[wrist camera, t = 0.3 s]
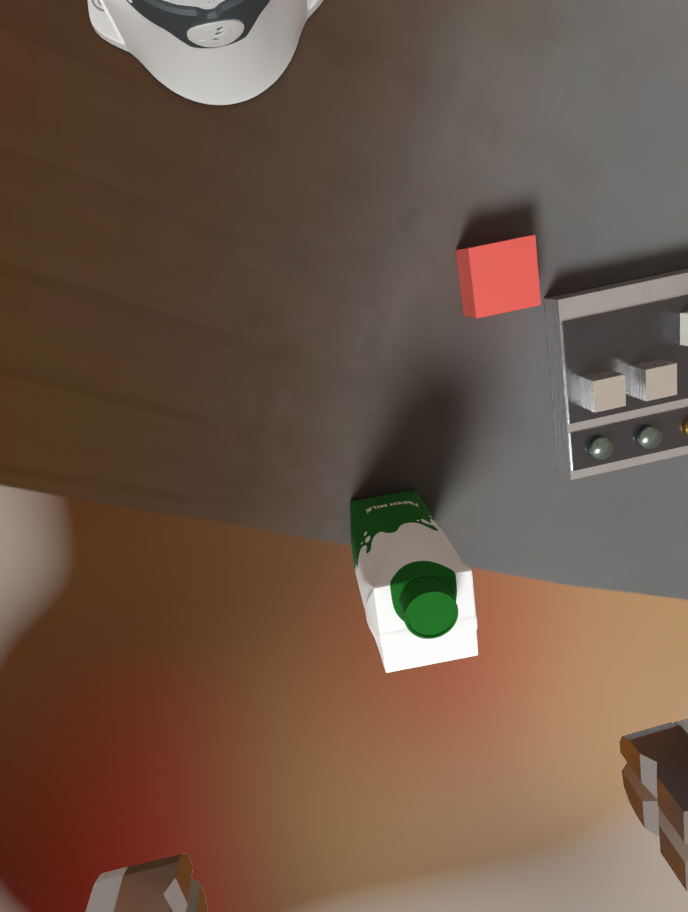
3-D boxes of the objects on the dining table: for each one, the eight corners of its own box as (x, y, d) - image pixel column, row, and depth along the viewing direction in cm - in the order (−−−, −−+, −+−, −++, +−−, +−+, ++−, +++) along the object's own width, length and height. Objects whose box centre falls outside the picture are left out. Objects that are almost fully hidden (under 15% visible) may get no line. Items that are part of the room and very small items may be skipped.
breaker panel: (543, 298, 55) (572, 301, 50) (701, 265, 56) (746, 264, 50) (557, 470, 61) (584, 489, 55) (700, 438, 61) (740, 454, 56)
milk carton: (422, 479, 60) (489, 576, 41) (431, 556, 62) (496, 679, 43) (339, 494, 59) (367, 598, 40) (351, 570, 62) (383, 701, 43)
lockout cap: (455, 250, 53) (468, 248, 49) (517, 237, 53) (535, 234, 50) (463, 315, 55) (476, 318, 51) (523, 302, 55) (540, 304, 51)
